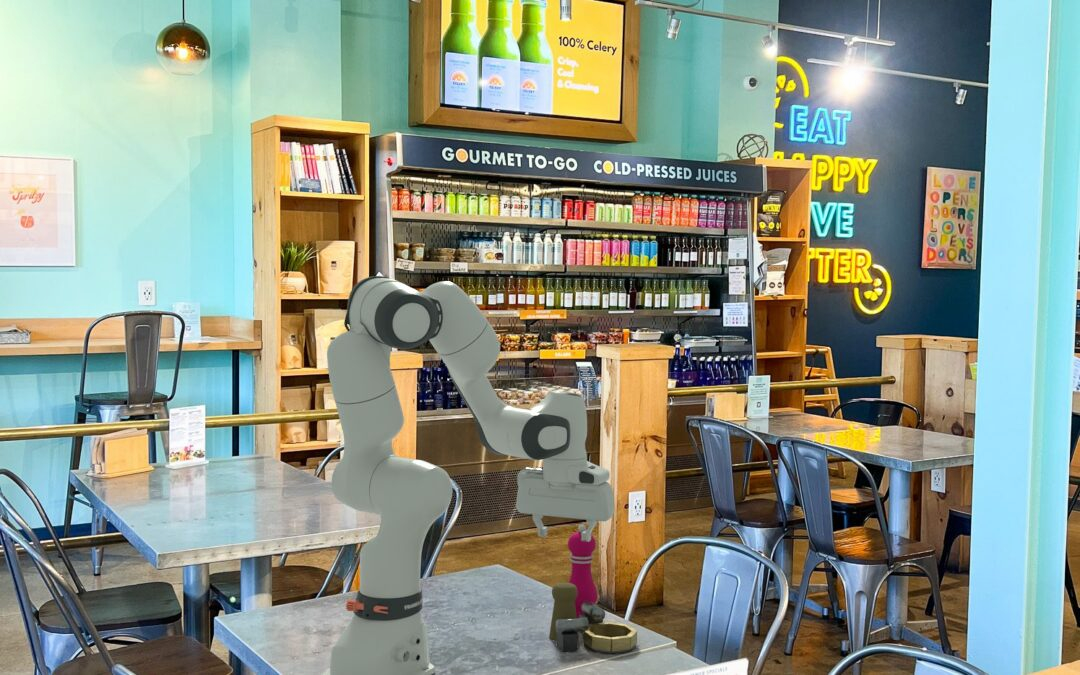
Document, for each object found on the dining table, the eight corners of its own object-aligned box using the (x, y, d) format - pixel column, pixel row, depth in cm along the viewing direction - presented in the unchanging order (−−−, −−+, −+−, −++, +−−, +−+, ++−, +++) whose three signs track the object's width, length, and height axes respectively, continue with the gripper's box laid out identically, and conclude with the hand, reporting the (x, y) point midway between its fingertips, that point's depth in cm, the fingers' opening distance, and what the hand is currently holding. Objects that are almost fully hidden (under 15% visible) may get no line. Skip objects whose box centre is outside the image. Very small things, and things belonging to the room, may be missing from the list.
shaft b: (578, 629, 218) (578, 601, 217) (595, 627, 219) (596, 599, 219) (590, 638, 212) (590, 609, 212) (608, 636, 214) (608, 607, 213)
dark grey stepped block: (560, 653, 203) (560, 623, 203) (554, 646, 207) (554, 616, 207) (589, 650, 205) (590, 620, 205) (582, 644, 209) (583, 614, 208)
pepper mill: (603, 615, 228) (605, 524, 227) (585, 624, 222) (587, 529, 221) (575, 609, 232) (576, 519, 231) (557, 617, 226) (558, 525, 225)
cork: (584, 639, 211) (585, 585, 211) (558, 644, 208) (559, 589, 208) (568, 631, 217) (569, 578, 216) (543, 635, 214) (544, 582, 213)
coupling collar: (626, 657, 201) (626, 641, 201) (575, 649, 205) (576, 634, 205) (642, 641, 211) (643, 626, 211) (594, 634, 215) (594, 619, 215)
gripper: (511, 469, 213) (510, 536, 214) (606, 477, 205) (606, 547, 206) (523, 464, 219) (523, 530, 219) (617, 472, 211) (616, 540, 211)
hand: (564, 538), depth 212 cm, fingers open, 8 cm apart
